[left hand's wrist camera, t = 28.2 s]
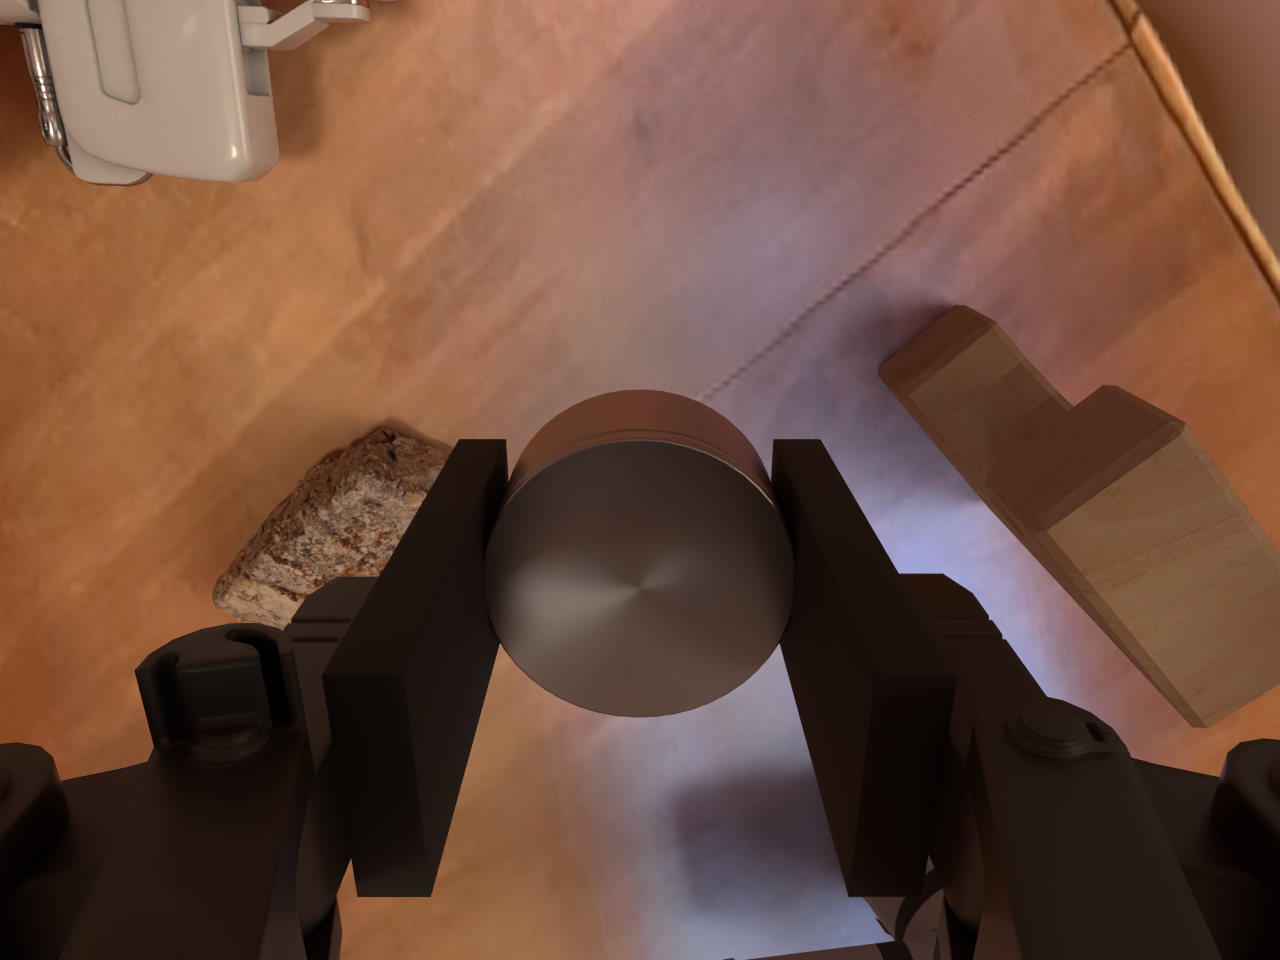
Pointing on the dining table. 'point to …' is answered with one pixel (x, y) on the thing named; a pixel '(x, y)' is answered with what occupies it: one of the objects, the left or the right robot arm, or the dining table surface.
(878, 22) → the dining table surface
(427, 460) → the rock
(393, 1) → the bottle
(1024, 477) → the decorative block
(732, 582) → the cap
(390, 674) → the left robot arm
